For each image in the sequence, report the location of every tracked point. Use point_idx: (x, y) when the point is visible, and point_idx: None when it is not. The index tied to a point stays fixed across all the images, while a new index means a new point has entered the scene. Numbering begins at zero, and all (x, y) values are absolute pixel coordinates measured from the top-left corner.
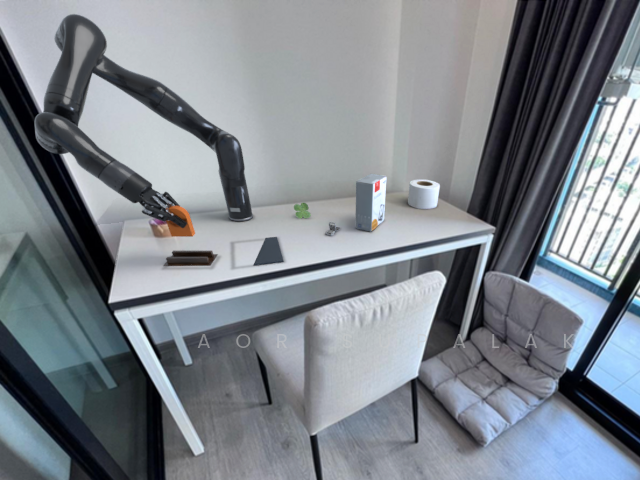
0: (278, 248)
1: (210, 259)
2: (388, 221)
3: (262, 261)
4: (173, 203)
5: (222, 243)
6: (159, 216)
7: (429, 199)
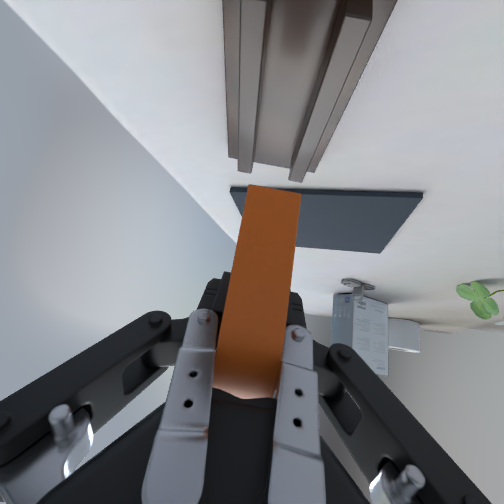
0: (311, 246)
1: (275, 156)
2: None
3: None
4: (333, 417)
5: (439, 172)
6: (137, 351)
7: None
